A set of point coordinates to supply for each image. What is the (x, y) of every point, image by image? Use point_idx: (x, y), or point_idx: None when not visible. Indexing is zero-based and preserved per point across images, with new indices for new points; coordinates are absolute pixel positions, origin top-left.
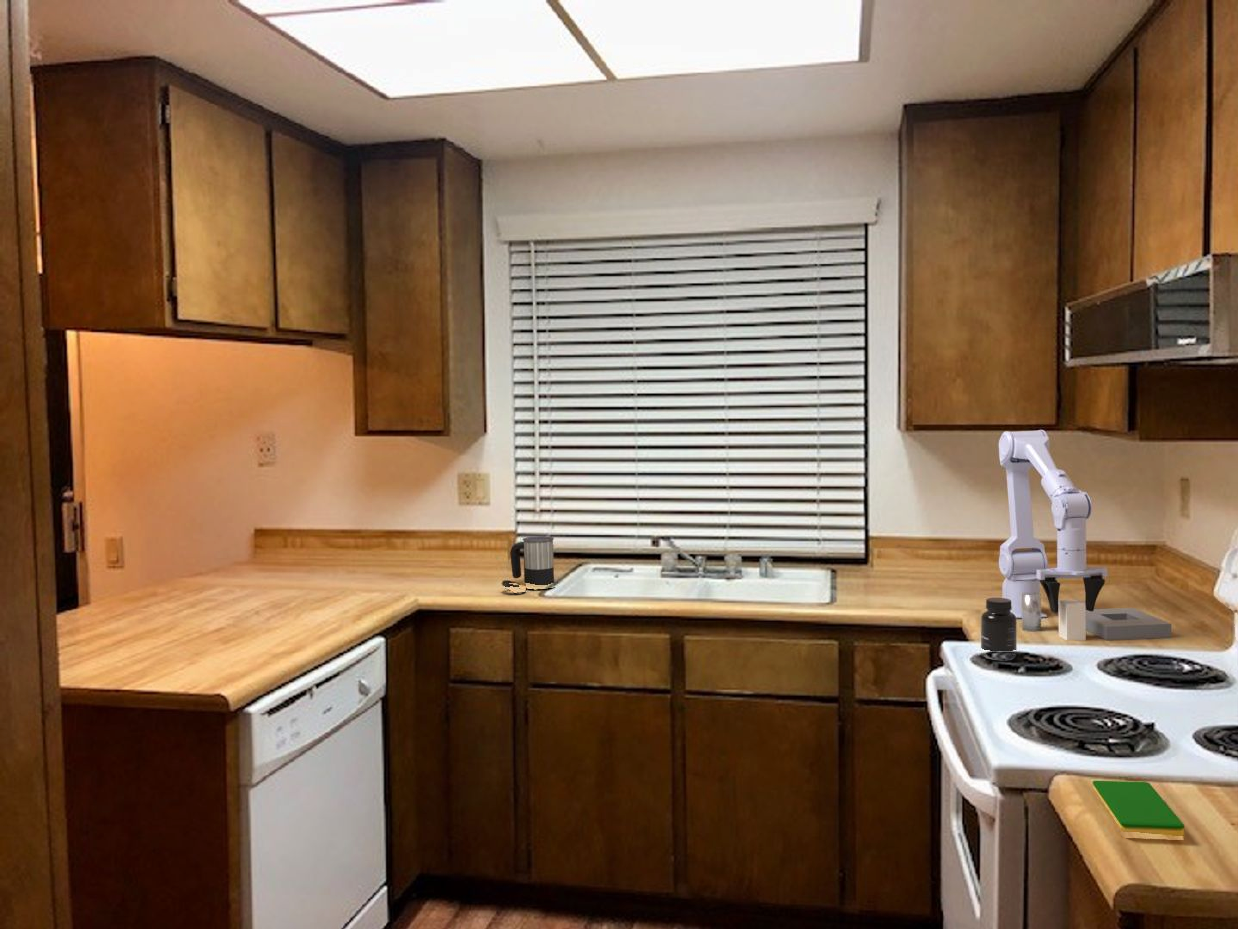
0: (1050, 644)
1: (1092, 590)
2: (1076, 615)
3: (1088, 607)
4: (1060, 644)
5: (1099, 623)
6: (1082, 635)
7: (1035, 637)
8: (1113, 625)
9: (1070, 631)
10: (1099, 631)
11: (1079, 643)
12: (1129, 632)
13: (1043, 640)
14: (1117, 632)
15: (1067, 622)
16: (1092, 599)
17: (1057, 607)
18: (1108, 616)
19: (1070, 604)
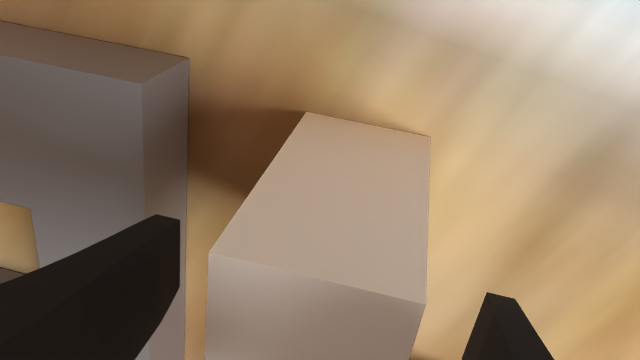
0: (613, 95)
1: (25, 347)
2: (335, 207)
3: (166, 266)
4: (544, 70)
5: (144, 181)
6: (320, 126)
7: (555, 274)
8: (80, 89)
9: (403, 157)
10: (171, 157)
11: (398, 49)
12: (14, 38)
13: (568, 200)
14: (90, 55)
15: (423, 196)
16: (102, 269)
17: (511, 323)
18: None
19: (382, 290)
